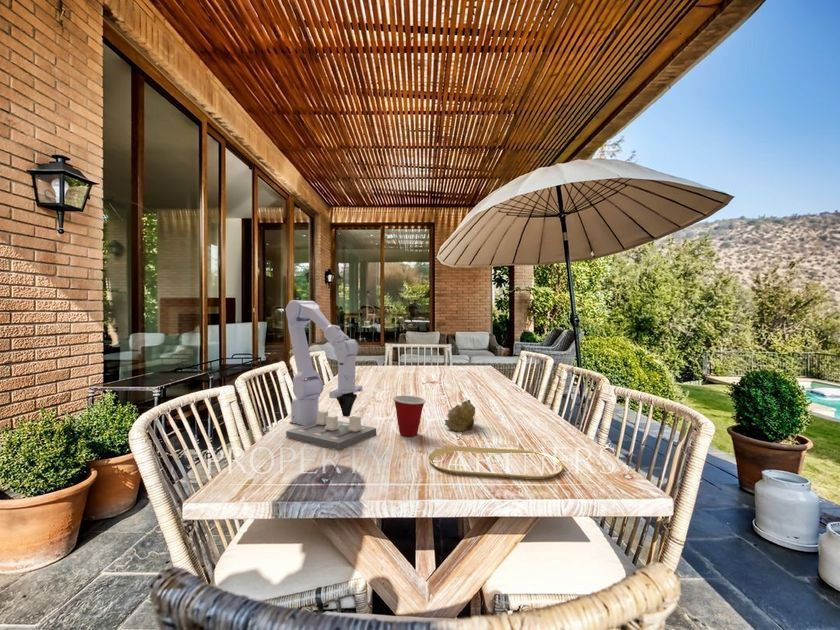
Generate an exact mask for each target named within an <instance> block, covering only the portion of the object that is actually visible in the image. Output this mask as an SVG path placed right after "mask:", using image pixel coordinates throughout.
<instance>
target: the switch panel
mask: <svg viewBox="0 0 840 630" xmlns="http://www.w3.org/2000/svg"><path fill="white" fill-rule="evenodd" d="M325 426H326V424H325V425H320V424H316V422H314V423H310V424H307V425H300V426H299V427H294V428H292V429H291V428H290V429H288V430H286V432H285V434H286V435H285V437H286V438H287V437H288V438H289V439H292V440H297V441H301V442H305V443H308V444H313V445H317V446H322V447H325V446H326V447H325V448H329V447H330V448H329V449H333V448H334V449H333V450H336V451H337V450H338V451H339V450H341V449H344V448H346V447H349V446H351V445H354V444H356V443H359V442H361V441H364V440H365V439H369V438H371V437H372V436H373V437H374V436H375V435H377V428H376V427H373V426H367V425H361V427H362V430H359V431H356V432H354V431H349V430H348V427H349V422H347V421H341V420H338V426H339V428H338V429H335V430H333V431H332V430H327V429H325ZM288 438H287V439H288Z"/></svg>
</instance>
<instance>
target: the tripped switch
mask: <svg viewBox="0 0 840 630" xmlns="http://www.w3.org/2000/svg"><path fill="white" fill-rule="evenodd" d="M338 421H339V416H338V415H332V414H330V415H329V414H328V416H326V426H325V429H327V430H332V431H333V430H335V429H338V428H339V426H338Z"/></svg>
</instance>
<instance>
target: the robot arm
mask: <svg viewBox="0 0 840 630" xmlns="http://www.w3.org/2000/svg"><path fill="white" fill-rule="evenodd" d="M285 315H286V319H287V326H288V327H287V328H288V332H289V337H290V341H291V346H292V351H293V352H292V353H293V356H294V361H295V365H296V366H295V367H296V370H297V371H296V372H297V373H296V375H294V376H293V378H292V383H293V384H292V385H293V386H292V392H293V395H294V396H295V397H294V398H293V399H292V401H291V405H290V409H291V410H290V411H291V412H290V420H289V421H290V422H293V423H292V424H295V423H297V424H296V425H300V424H301V425H300V426H304V425H307V424H310V423H314V422H316V421H317V411H320V410H319V408H320V407H319V406H320V405H319V402H320V401H319V399H320V398H319V397H321V394H322V393H323V392H324V387H325V386H324V382H323V380H322V379H321V376H320V373H319V372H318V371H317V370H315V369H314V367H313V362H312V358H311V355H310V349H309V344H308V339H307V335H306V329H305V328H306V326H307V325H308V324H309V323H310V322H311V321H312V322H313V323H314V324H315V325H316V326H317V327H318V328H320V330H322V331H323V337H324V338H325V340H327V342H328V343H329V344H330V345H331V346H332V347H333V348H334V354H335V355H336V362H337V364H338V365H337V368H338V369H337V388H336V389H334V390H331V391H329V392H328V393H329V397H328V398H329V399H336V400H337V401H338V404H339V406H340V409H341V415H342V417H346V418H347V417H351V413H352V409H353V406H354V403H355V401H356V400H357V397H358V395H357V394H356V393H359V392H363V385H356V356H357V355H358V354H359V352H360V345H359V343H358V341H357V340H356V339H353V338H350V337H349V335H347V334H346V333H345V332H344V331H342V329H341V327H340V325H336V324H332V323H331V322H330V321H329V320H328V318H326V316H325V315H324V313H322V311H321V310H320V305H318V303H316V302H315V301H313V300H297V299H292V300H289V302H288V303H287V305H286V307H285ZM290 422H289V423H290Z"/></svg>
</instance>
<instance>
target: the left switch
mask: <svg viewBox="0 0 840 630" xmlns="http://www.w3.org/2000/svg"><path fill="white" fill-rule="evenodd" d="M326 416H329V411H328V410H321V409H320V410H319V411H317V421H316V424H320V425H325V424H326Z"/></svg>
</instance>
